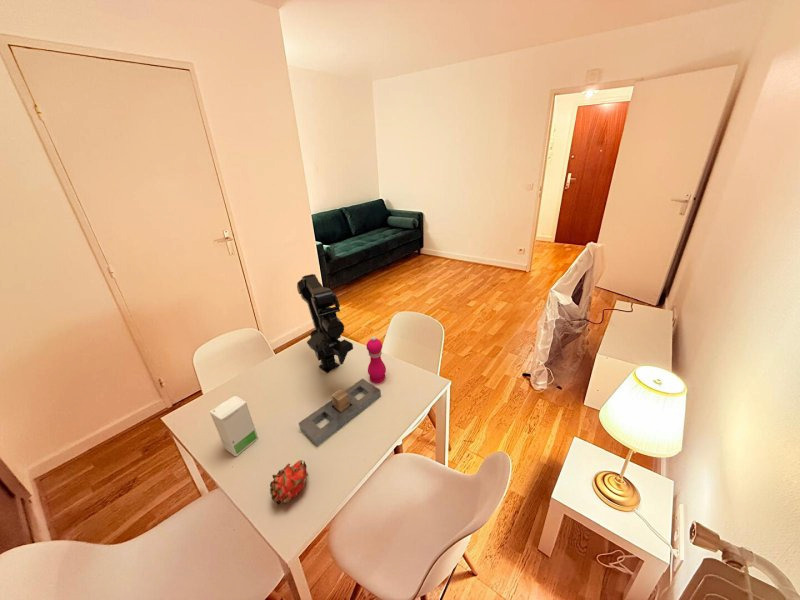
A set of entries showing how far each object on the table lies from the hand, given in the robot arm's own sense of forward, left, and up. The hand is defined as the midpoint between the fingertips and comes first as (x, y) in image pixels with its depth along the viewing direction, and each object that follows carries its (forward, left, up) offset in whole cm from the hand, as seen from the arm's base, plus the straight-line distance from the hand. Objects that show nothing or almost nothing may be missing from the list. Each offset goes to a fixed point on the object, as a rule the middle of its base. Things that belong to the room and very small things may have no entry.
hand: (334, 359), depth 113 cm
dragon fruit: (+24, -34, -12) cm, 43 cm away
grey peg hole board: (+13, -8, -12) cm, 19 cm away
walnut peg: (+13, -8, -12) cm, 19 cm away
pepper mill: (+10, +12, -12) cm, 20 cm away
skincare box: (-2, -37, -12) cm, 39 cm away
